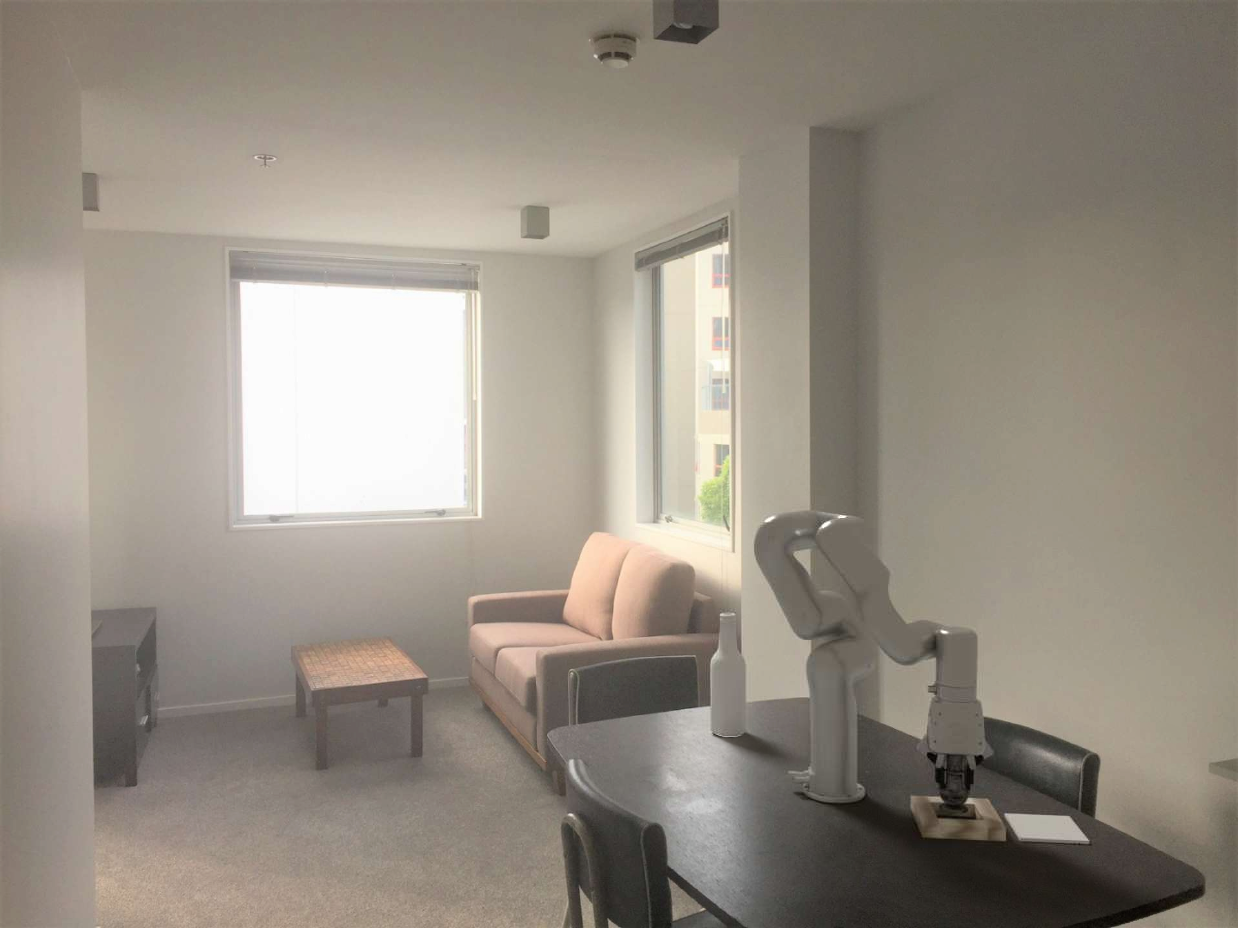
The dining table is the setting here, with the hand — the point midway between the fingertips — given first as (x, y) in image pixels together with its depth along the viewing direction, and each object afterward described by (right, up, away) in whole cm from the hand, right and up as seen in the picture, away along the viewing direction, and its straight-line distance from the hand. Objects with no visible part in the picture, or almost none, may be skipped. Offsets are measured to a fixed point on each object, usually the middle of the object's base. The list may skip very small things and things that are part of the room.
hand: (954, 786), depth 194 cm
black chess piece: (0, -5, 0) cm, 5 cm away
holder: (0, -7, 0) cm, 7 cm away
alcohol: (-37, -6, +59) cm, 70 cm away
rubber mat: (+16, -7, -3) cm, 18 cm away
